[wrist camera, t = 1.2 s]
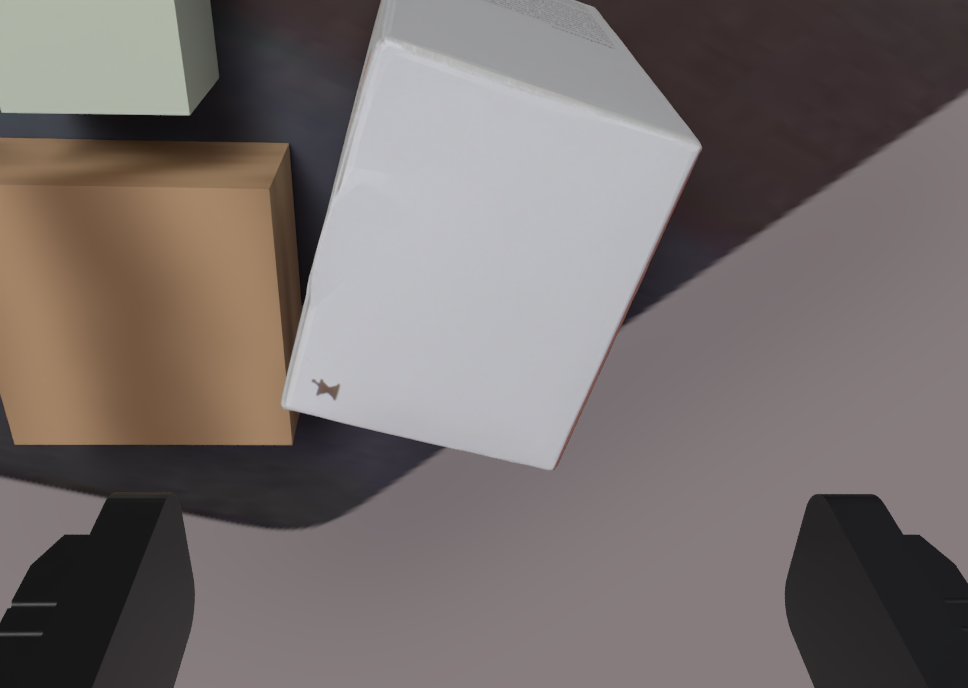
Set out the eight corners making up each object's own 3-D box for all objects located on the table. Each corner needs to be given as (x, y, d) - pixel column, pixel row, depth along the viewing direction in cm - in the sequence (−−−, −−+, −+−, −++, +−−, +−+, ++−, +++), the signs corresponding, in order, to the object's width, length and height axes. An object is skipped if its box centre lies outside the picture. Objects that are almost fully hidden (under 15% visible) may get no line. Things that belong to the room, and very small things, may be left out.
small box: (514, 239, 32) (555, 482, 20) (332, 186, 30) (269, 415, 19) (602, 2, 28) (712, 143, 17) (398, -69, 27) (367, 32, 15)
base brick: (289, 143, 30) (269, 188, 26) (307, 379, 34) (292, 444, 31) (0, 137, 29) (-59, 183, 26) (58, 378, 34) (14, 444, 30)
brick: (199, -103, 26) (162, -87, 23) (220, 76, 29) (189, 115, 25) (17, -107, 26) (-48, -92, 22) (55, 74, 28) (1, 112, 25)
